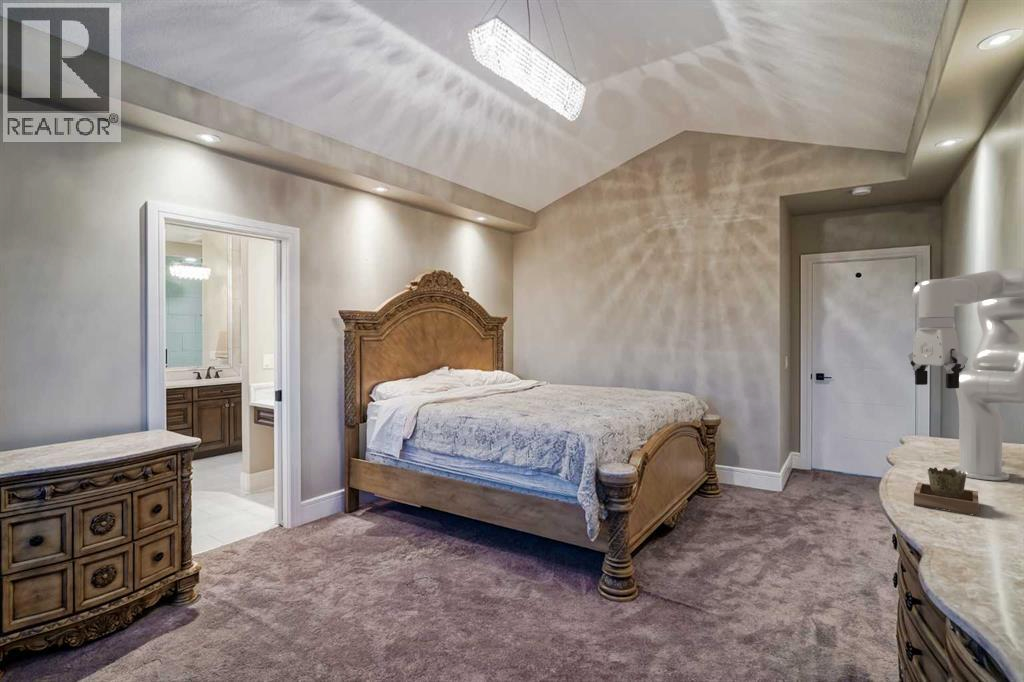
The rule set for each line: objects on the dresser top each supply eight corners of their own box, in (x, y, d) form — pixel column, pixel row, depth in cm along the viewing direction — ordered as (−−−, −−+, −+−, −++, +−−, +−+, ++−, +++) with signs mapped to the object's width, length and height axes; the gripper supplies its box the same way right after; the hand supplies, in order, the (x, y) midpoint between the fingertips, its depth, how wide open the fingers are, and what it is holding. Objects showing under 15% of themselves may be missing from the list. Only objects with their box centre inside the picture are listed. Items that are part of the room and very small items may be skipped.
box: (917, 493, 138) (917, 482, 138) (977, 503, 130) (977, 491, 130) (913, 505, 129) (913, 493, 129) (978, 516, 121) (978, 503, 121)
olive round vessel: (934, 505, 127) (934, 473, 127) (922, 496, 134) (922, 465, 134) (972, 508, 124) (972, 475, 124) (958, 499, 131) (958, 468, 131)
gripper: (897, 325, 150) (898, 383, 150) (951, 324, 132) (952, 390, 133) (922, 324, 150) (922, 383, 150) (979, 323, 133) (979, 389, 133)
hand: (936, 386), depth 141 cm, fingers open, 9 cm apart
